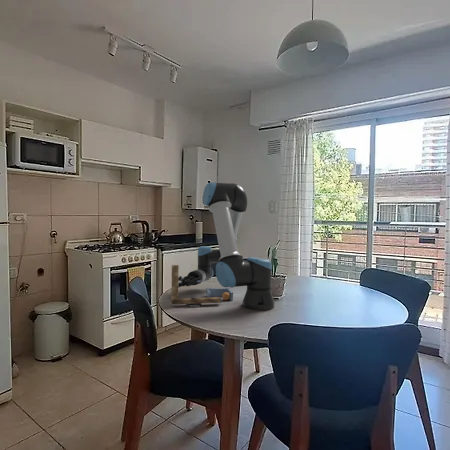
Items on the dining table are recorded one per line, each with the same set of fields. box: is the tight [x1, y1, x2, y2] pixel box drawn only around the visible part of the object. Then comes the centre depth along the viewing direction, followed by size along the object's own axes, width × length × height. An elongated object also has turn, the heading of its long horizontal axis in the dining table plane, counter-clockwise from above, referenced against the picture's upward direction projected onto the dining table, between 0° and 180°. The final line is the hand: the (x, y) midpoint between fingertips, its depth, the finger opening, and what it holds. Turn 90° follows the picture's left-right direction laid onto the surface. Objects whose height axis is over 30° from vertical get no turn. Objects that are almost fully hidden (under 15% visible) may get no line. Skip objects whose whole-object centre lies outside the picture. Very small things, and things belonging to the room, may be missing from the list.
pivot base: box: [185, 303, 202, 308], centre depth 163 cm, size 7×7×1 cm
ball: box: [221, 292, 230, 301], centre depth 174 cm, size 4×4×4 cm
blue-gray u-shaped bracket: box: [205, 287, 234, 301], centre depth 177 cm, size 10×12×4 cm
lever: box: [170, 264, 222, 305], centre depth 163 cm, size 24×3×18 cm, turn 101°
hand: (173, 286), depth 163 cm, fingers closed
